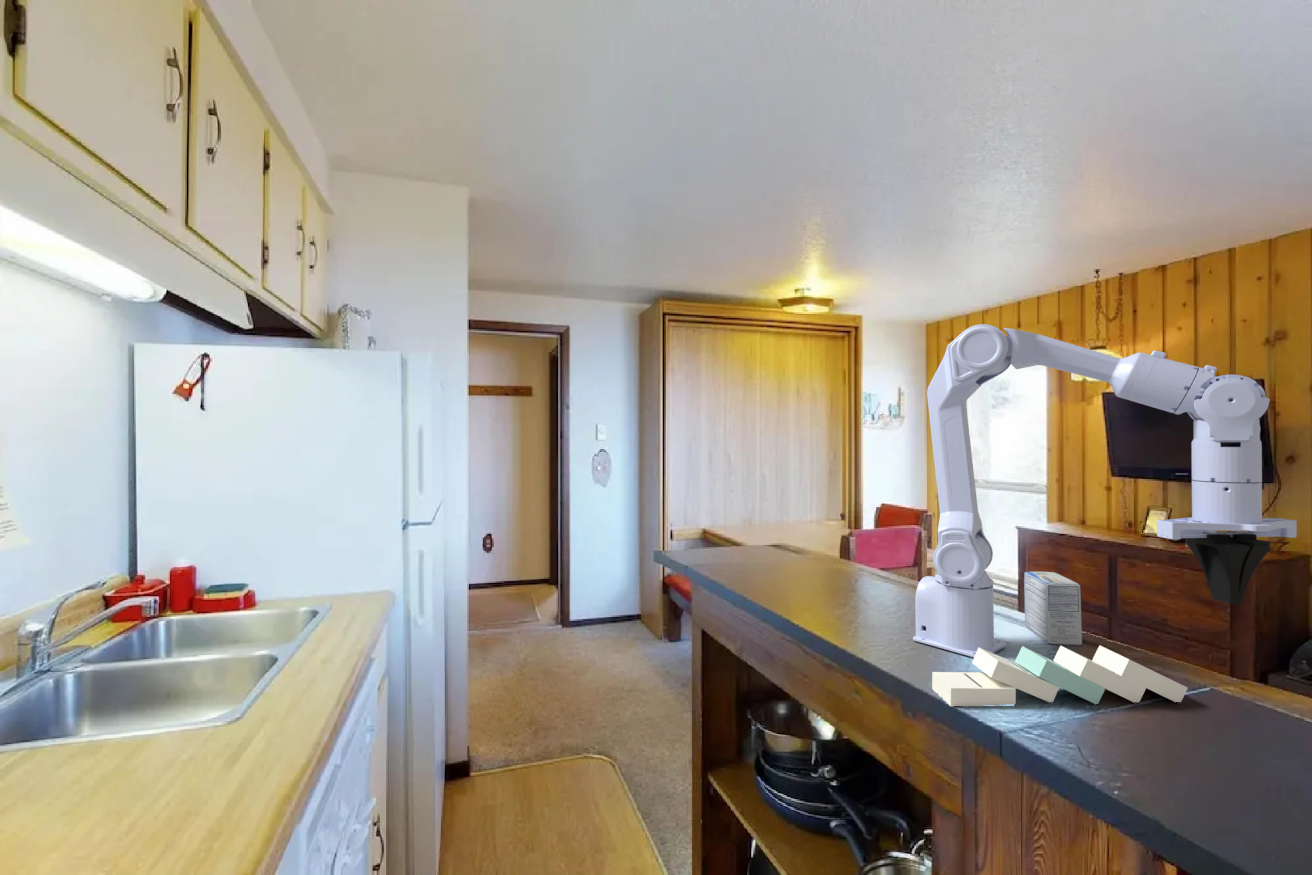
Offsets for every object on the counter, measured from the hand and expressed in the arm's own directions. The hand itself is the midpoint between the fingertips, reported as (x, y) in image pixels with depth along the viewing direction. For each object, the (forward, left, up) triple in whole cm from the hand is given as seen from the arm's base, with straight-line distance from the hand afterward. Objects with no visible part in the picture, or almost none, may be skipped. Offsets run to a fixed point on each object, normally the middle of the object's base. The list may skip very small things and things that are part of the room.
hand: (1226, 601), depth 66 cm
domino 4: (-7, -10, -10) cm, 15 cm away
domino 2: (-13, -17, -9) cm, 23 cm away
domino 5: (-4, -6, -10) cm, 12 cm away
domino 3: (-10, -13, -10) cm, 19 cm away
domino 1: (-15, -21, -10) cm, 27 cm away
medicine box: (-20, +6, -11) cm, 23 cm away
